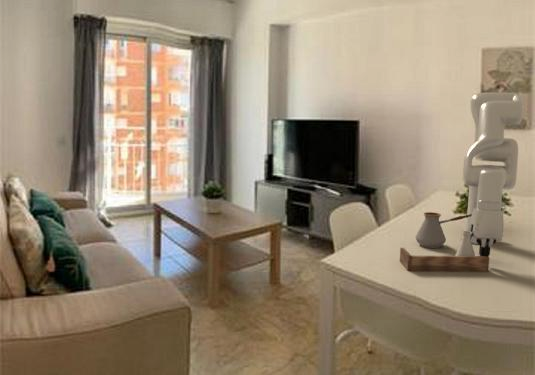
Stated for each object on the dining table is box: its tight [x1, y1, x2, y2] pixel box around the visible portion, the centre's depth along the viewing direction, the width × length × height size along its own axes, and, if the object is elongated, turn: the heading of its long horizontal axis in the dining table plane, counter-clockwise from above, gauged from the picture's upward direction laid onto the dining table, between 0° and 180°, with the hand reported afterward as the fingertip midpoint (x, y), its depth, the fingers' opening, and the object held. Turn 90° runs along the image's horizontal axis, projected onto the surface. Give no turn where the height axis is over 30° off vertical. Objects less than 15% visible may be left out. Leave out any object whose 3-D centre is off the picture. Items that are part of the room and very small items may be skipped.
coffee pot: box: [415, 211, 472, 249], centre depth 183 cm, size 21×12×15 cm, turn 54°
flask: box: [454, 230, 476, 256], centre depth 163 cm, size 7×7×10 cm
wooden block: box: [399, 247, 490, 273], centre depth 163 cm, size 27×10×5 cm, turn 90°
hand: (484, 257), depth 163 cm, fingers closed
